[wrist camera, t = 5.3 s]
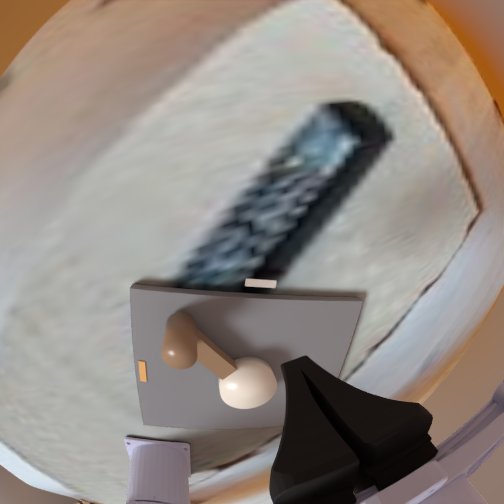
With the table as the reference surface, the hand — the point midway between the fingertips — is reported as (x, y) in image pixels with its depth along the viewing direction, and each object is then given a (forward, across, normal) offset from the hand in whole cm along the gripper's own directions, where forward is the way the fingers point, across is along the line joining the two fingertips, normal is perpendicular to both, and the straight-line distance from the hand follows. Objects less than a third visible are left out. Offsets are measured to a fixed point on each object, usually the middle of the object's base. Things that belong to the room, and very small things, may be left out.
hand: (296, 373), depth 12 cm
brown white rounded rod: (+9, +4, +4) cm, 11 cm away
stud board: (+10, +3, +8) cm, 13 cm away
